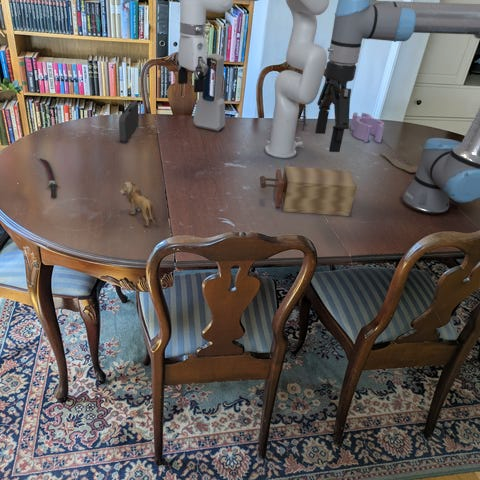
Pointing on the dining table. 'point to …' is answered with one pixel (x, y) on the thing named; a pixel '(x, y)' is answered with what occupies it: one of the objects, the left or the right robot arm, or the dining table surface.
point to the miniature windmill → (302, 109)
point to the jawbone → (401, 164)
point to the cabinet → (318, 191)
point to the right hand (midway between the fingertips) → (326, 142)
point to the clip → (367, 127)
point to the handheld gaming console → (128, 121)
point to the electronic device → (211, 99)
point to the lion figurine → (137, 201)
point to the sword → (52, 181)
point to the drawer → (276, 186)
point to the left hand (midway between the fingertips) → (190, 87)
